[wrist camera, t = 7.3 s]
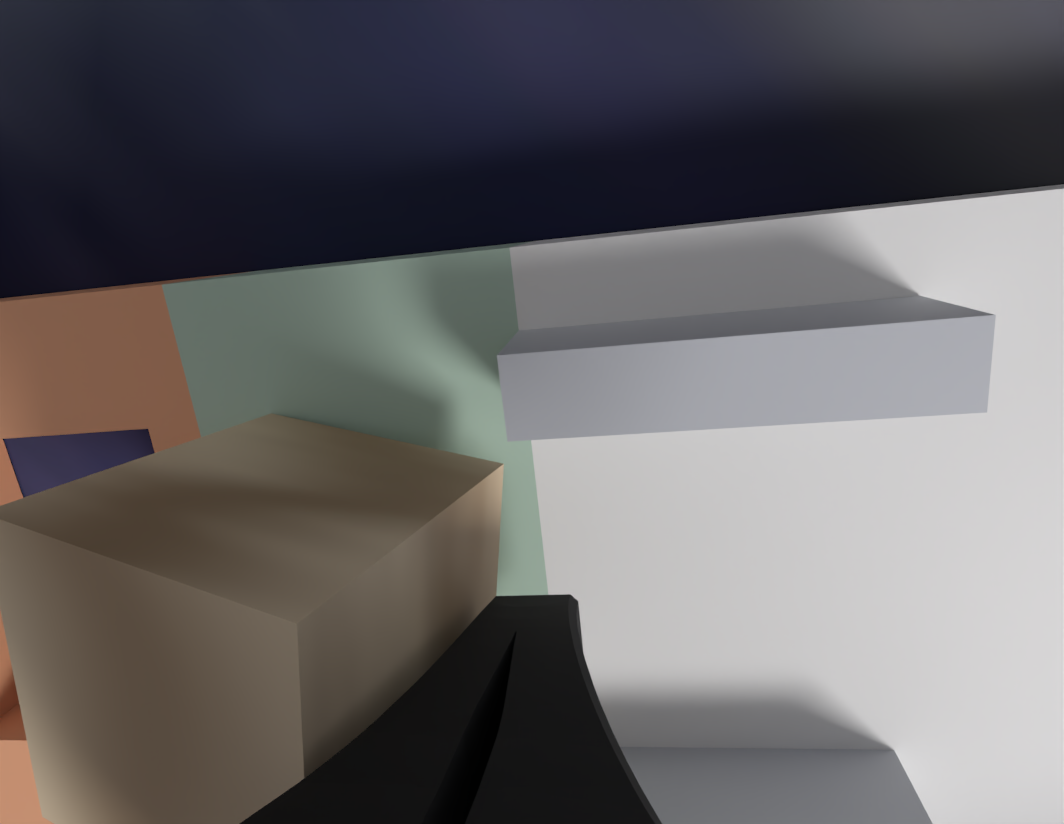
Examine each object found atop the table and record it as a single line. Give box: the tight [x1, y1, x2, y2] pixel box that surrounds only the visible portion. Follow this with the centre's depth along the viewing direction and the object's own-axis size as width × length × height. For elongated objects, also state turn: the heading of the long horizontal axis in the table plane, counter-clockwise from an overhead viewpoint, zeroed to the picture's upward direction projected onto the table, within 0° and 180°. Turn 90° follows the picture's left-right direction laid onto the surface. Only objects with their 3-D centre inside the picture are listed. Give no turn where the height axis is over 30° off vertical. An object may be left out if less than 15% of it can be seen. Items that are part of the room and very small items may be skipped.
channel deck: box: [0, 184, 1064, 824], centre depth 12 cm, size 28×12×5 cm, turn 96°
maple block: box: [0, 413, 504, 824], centre depth 9 cm, size 4×4×4 cm
